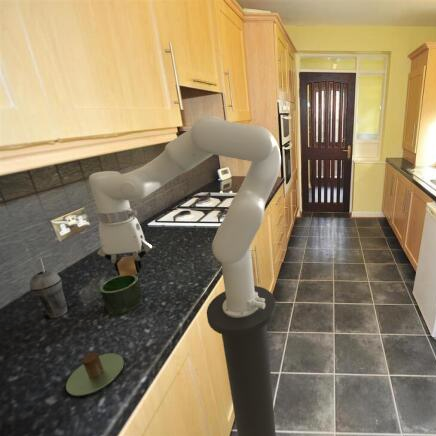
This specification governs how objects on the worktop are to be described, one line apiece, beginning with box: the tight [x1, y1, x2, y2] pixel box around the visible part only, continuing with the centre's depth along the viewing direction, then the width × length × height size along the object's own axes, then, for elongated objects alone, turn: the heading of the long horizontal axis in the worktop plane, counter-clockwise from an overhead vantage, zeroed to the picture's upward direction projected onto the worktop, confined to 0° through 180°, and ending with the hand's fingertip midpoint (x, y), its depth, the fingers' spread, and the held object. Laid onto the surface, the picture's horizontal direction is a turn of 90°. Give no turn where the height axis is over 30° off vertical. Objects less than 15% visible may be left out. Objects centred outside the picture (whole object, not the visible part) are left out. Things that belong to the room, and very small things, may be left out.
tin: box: [99, 275, 144, 315], centre depth 90 cm, size 10×10×8 cm
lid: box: [65, 351, 125, 397], centre depth 65 cm, size 11×11×6 cm
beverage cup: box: [29, 257, 68, 319], centre depth 84 cm, size 7×7×20 cm
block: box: [117, 255, 138, 276], centre depth 82 cm, size 4×4×4 cm
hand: (130, 270), depth 82 cm, fingers closed on block, 4 cm apart
